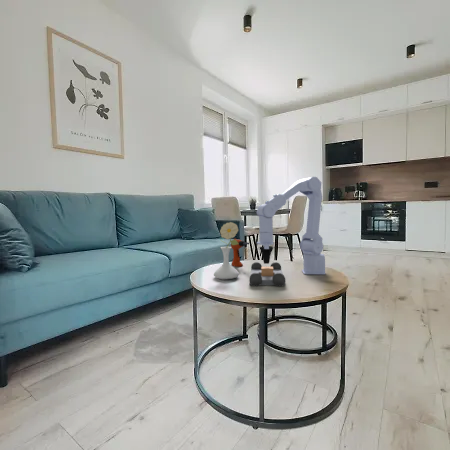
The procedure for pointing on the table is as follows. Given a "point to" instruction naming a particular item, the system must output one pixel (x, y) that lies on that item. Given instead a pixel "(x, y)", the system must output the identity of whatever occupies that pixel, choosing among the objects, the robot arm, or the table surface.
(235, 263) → the toy drill
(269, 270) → the block
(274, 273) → the chassis
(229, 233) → the flower in vase
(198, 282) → the table surface
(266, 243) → the robot arm
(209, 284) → the table surface
